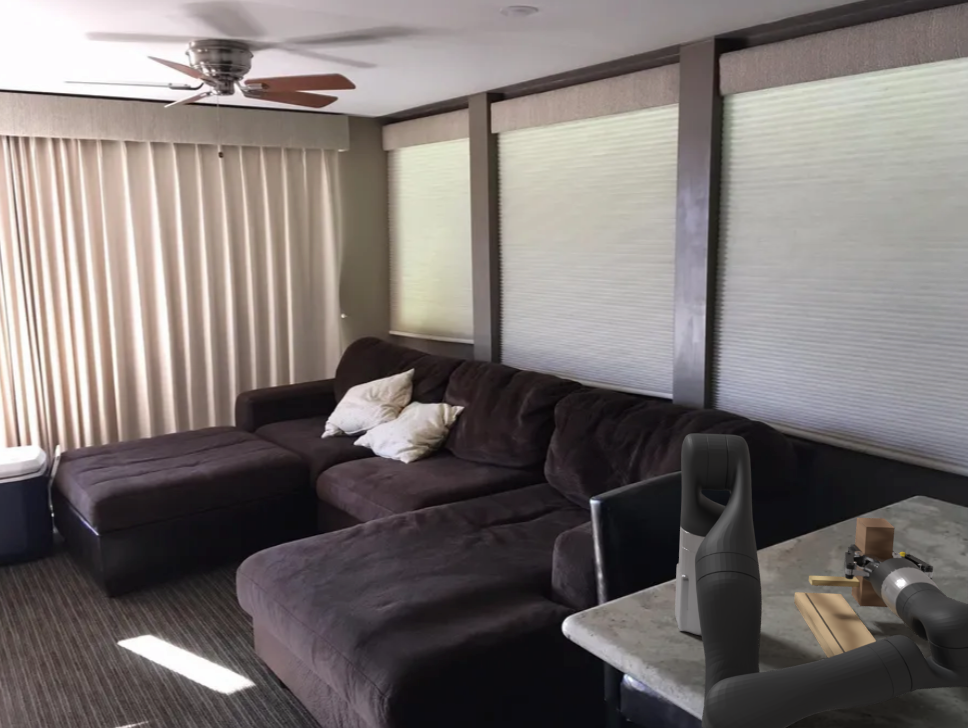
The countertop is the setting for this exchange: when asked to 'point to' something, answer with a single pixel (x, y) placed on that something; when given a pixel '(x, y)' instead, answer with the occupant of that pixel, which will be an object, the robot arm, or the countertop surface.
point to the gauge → (870, 540)
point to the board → (832, 622)
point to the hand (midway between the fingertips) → (867, 550)
